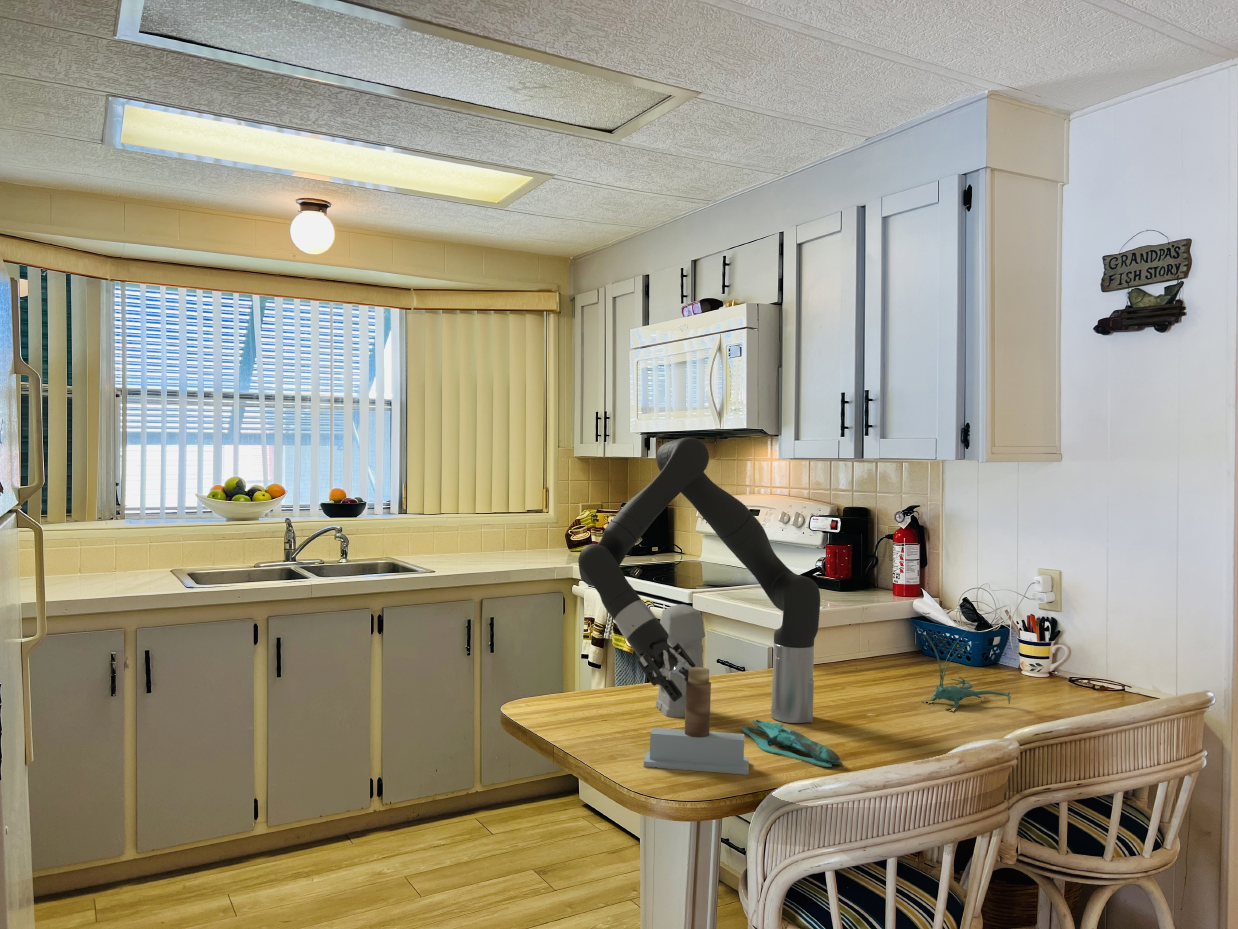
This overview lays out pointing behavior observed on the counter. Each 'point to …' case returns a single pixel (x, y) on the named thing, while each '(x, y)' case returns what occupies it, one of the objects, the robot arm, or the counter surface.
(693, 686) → the pepper mill
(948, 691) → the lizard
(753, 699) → the counter surface
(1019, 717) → the counter surface
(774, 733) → the toy spaceship
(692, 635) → the grey moai statue
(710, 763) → the rail
